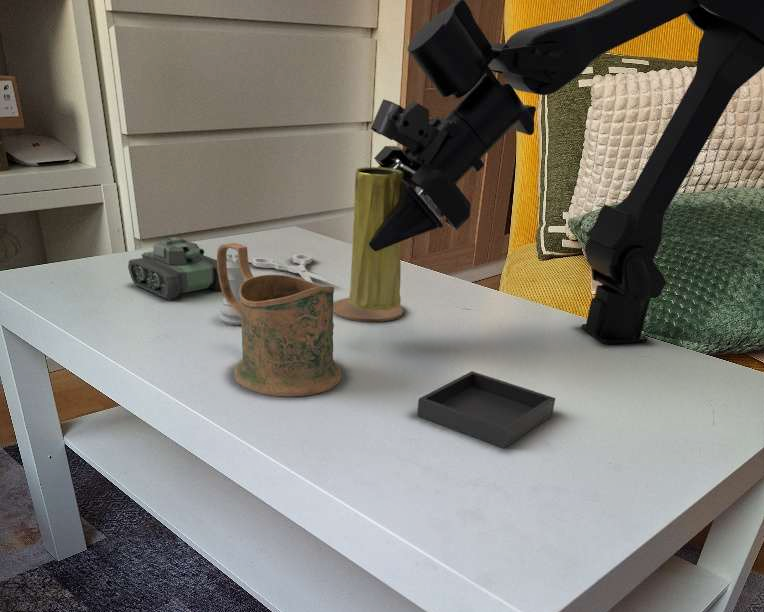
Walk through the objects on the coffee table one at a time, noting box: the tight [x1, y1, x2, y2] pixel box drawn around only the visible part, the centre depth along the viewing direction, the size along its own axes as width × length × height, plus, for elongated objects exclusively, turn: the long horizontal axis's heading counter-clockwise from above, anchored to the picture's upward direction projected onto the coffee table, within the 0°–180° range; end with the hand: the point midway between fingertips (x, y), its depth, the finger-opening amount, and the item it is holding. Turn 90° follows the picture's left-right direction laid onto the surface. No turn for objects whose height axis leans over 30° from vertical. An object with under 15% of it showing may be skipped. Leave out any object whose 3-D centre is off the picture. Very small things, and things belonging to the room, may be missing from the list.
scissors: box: [248, 253, 340, 287], centre depth 113 cm, size 11×1×20 cm
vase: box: [348, 166, 403, 311], centre depth 83 cm, size 6×6×14 cm
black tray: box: [416, 370, 556, 449], centre depth 74 cm, size 10×10×2 cm
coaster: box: [333, 297, 404, 323], centre depth 101 cm, size 10×10×1 cm
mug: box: [216, 242, 342, 397], centre depth 79 cm, size 12×18×12 cm, turn 44°
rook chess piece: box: [219, 253, 245, 326], centre depth 92 cm, size 4×4×8 cm
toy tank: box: [127, 236, 222, 301], centre depth 103 cm, size 10×12×7 cm
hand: (365, 241), depth 82 cm, fingers closed on vase, 5 cm apart
